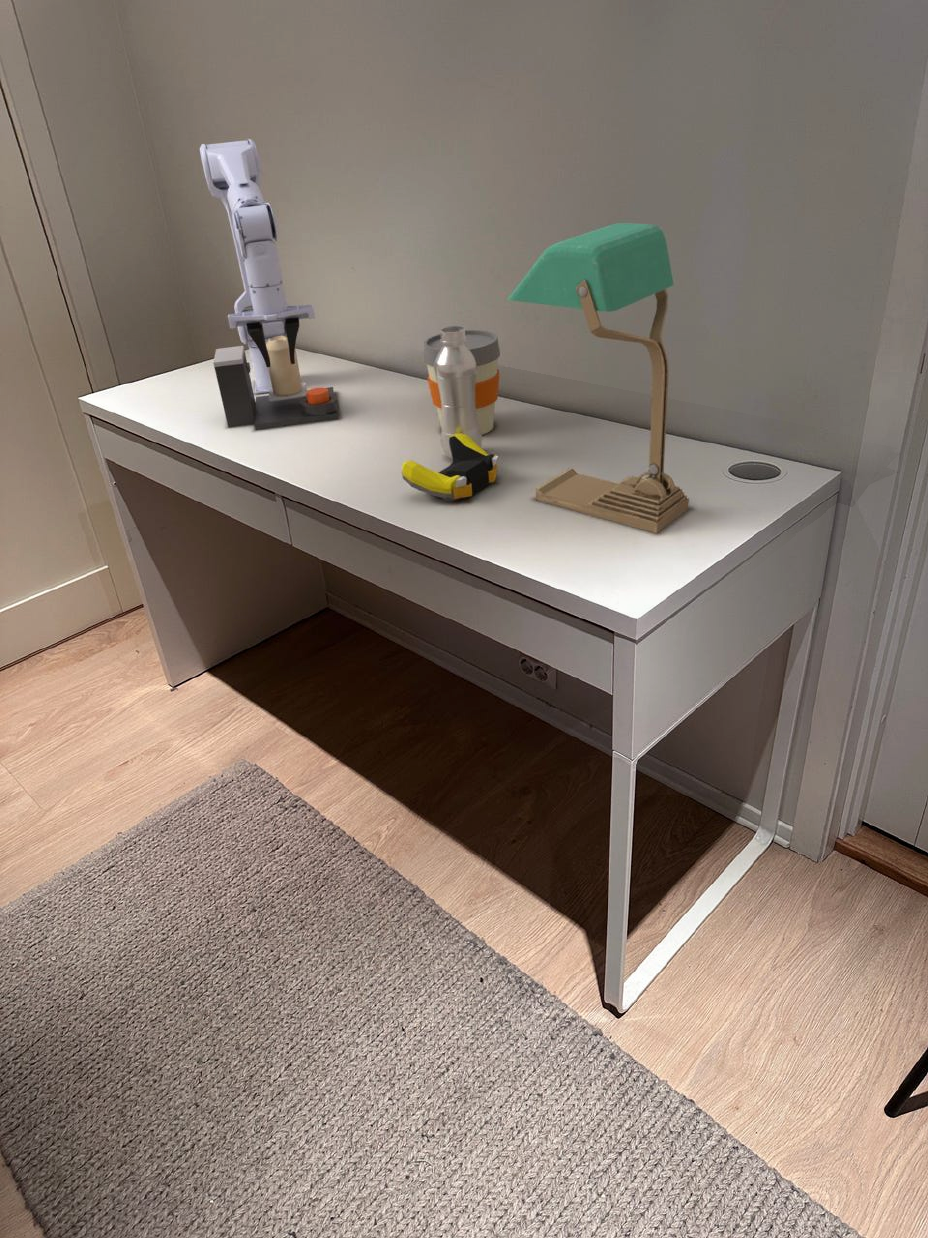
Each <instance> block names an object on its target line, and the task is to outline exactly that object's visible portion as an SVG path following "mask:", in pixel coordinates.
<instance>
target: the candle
mask: <svg viewBox="0 0 928 1238" xmlns="http://www.w3.org/2000/svg"><path fill="white" fill-rule="evenodd" d="M266 347H267V350H268V354H269V358H270V363H271V367H268V369H269V374H270V379H271V384H272V389H273V393H274V394H275V395H280V396H286V395H292V394H296V393H298V392H300V391H302V383H303V382H302V377H301V371H300V366H299V361H298V360H299V359H298V355H297V349H296V348H295V353H294V358H295V364H291V361H290V353H289V345H288V339H287V338H286V337H285V336H283V335H281V336H275V337H274V338H272V339H271V338H269V340H268V342H267V344H266Z"/></svg>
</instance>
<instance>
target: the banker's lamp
mask: <svg viewBox="0 0 928 1238" xmlns="http://www.w3.org/2000/svg"><path fill="white" fill-rule="evenodd" d="M673 286H674V279H673V273H672V267H671V261H670V256H669V249H668V244H667V238H666V236H665V234H664V231H663V230H662V229H661V228H660V227H659V226H658V225H654V224H652V223H651V224H650V223H633V222H632V223H631V222H620V223H613V224H610V225H608V226H603V227H601V228H597V229H595V230H592V231H588V232H585V233H583V234H579V235H576V236H573V237H570V238H567V239H564V240H561V241H558V242H556V243H553V244H552V245H550V246H548V247H547V248H546V249H545V250H544V251H542V253H541V255H540V256H539V258H538V259H537V260H536V261H535V263H534V264H533V265H532V267H531V268H530V269H529V271H528V272H527V273H526V275H524V276H523V278H522V280H520V283H519V284H518V285H517V286H516V287H515V289H514V290H513V291H512V293H511V294H510V295H509V297H508V298H507V300H508V301H511V302H518V303H519V302H520V303H527V304H535V305H543V306H551V307H552V306H553V307H561V308H570V309H578V310H583V313H584V317H585V320H586V323H587V327H588V330H589V332H590V334H592V335H593V336H595V337H597V338H600V339H607V340H615V341H623V342H630V343H638V344H641V345H643V346H644V347H645V348H646V349H647V352H648V355H649V358H650V362H651V368H652V383H651V386H652V387H651V388H652V389H651V408H650V410H651V411H650V432H649V455H648V456H649V457H648V471H646V472H645V471H644V472H643V473H641V474H639V476H636V475H631V476H627V477H625V478H624V479H622V480H621V481H620V482H618V483H617V482H614V481H609V480H605V479H601V478H597V477H594V476H589V475H587V474H586V475H585V474H581V473H578V472H577V471H576V470H575V469H574V468H573V467H568V468H567V469H565V470H564V471H562V472H561V473H559V474H557V475H556V476H554V477H552V478H550V479H548V480H547V481H546V482H544V483H542V484H541V485H538V486H537V487H536V488H535V500H536V501H539V502H542V503H546V504H549V505H553V506H557V507H560V508H564V509H567V510H571V511H575V512H578V513H582V514H586V515H589V516H592V517H596V518H600V519H604V520H607V521H610V522H613V523H618V524H622V525H625V526H629V527H633V528H634V529H635V528H636V529H638V530H639V529H640V530H642V531H646V532H650V533H654V534H658V533H659V532H660V531H661V530H663V529H664V528H665V527H667V526H668V525H669V524H671V523H672V522H674V520H676V519H678V518H679V517H680V516H681V515H683V514H684V513H685V512H686V511H687V510H689V506H690V505H689V504H690V503H689V502H690V498H688V495H686V494H685V492H684V491H683V488H681V487H680V486H676V485H675V482H674V480H673V478H672V477H671V476H670V475H669V474H668V473H667V472H665V452H666V435H667V414H668V397H669V395H668V393H669V376H670V374H669V370H670V369H669V359H668V355H667V351H666V347H665V345H664V343H663V332H664V326H665V321H666V318H667V317H666V316H667V312H668V307H669V295H668V291H667V289H669V288H671V287H673ZM653 295H654V296H655V299H656V310H655V313H654V317H653V321H652V325H651V329H650V332H649V335H648V336H649V337H644V336H639V335H635V334H630V333H626V332H622V331H618V330H613V329H608V328H607V327H604V326H603V325H602V323H601V320H600V317H599V314H598V312H605V313H609V312H611V313H612V312H616V311H619V310H621V309H624V308H625V307H628V306H631V305H633V304H635V303H637V302H640V301H642V300H643V299H644V300H645V299H646V298H648V297H651V296H653ZM644 476H647V477H646V478H643V477H644Z"/></svg>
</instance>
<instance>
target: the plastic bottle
mask: <svg viewBox="0 0 928 1238" xmlns="http://www.w3.org/2000/svg"><path fill="white" fill-rule="evenodd" d="M465 330H466V329H465V326H462V325H449V326H445V327H442V328H441V329H440V332H439V334H441V339H440V343H441V344H443V346H442V348H441V350H440V351H439V353H438V355H437V357H436V359H435V363H434V371H435V375H436V380H437V384H438V388H439V393H440V400H441V406H442V430H441V432H440V444H441V448H442V451H443V453H444V454H445V456H446V457H448V458H450V459H452V455H451V451H450V447H449V438H450V436H453V435H455V434H457V433H461V434H464V435H467V436H469V437H470V438H471V439H472V440H473V441H474V442H475V443H476V444H477V445H478V446H480V447H481V448H482V445H483V435H481V430H480V427H479V425H478V418H477V412H476V405H475V380H476V361H475V358H474V356H473V354H472V353H471V352H470V350H469V349H468V348H467V347H466V345H465V343H464V342H465V341H466V337H465Z"/></svg>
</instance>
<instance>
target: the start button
mask: <svg viewBox="0 0 928 1238" xmlns="http://www.w3.org/2000/svg"><path fill="white" fill-rule="evenodd" d="M327 388H328V387H323V386H322V387H321V386H318V387H312V388H309V389H307V390H308V391H307V392H306V395H307V400H308V403H309V404H321V403H325V402H328V401H329V400H330V398H329V392H328V389H327Z"/></svg>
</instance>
